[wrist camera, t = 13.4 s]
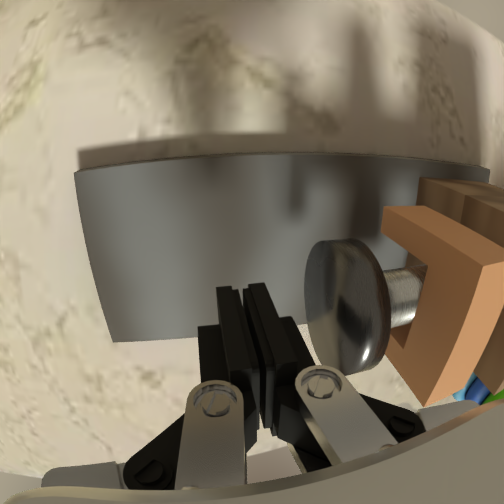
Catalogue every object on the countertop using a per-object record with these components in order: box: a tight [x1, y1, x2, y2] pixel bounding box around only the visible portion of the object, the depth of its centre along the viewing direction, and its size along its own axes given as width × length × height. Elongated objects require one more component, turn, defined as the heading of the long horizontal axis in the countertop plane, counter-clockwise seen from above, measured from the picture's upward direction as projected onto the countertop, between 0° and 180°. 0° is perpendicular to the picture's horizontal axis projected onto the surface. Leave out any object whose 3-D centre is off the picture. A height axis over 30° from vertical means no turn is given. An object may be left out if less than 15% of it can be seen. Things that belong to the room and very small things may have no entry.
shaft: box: [304, 238, 428, 376], centre depth 13 cm, size 16×5×5 cm, turn 91°
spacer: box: [381, 206, 504, 407], centre depth 11 cm, size 2×6×6 cm, turn 1°
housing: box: [74, 152, 504, 395], centre depth 13 cm, size 26×10×11 cm, turn 91°
